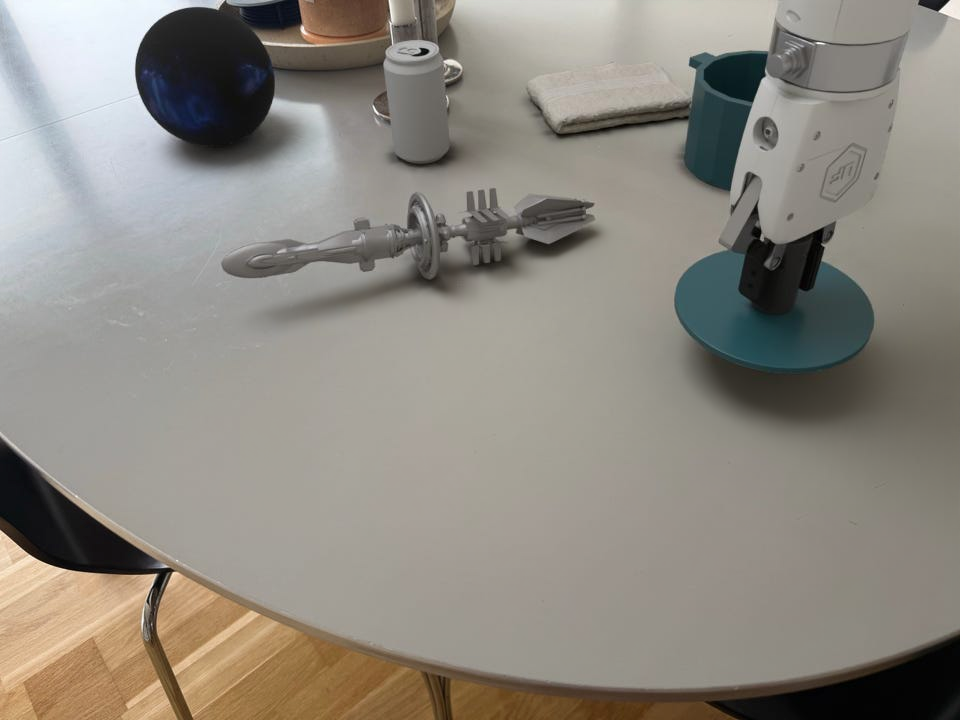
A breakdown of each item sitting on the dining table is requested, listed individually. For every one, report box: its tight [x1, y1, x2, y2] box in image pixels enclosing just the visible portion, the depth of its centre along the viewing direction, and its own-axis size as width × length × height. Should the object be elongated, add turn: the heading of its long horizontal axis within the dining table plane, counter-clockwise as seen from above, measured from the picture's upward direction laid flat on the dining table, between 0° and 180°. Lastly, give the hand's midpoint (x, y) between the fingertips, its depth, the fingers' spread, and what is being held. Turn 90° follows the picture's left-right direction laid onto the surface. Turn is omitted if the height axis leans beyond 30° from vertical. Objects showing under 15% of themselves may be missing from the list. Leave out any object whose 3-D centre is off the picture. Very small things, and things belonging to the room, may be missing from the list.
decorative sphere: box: [134, 6, 276, 148], centre depth 93 cm, size 15×15×15 cm
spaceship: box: [220, 187, 596, 280], centre depth 74 cm, size 8×35×8 cm
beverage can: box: [382, 39, 451, 165], centre depth 89 cm, size 6×6×12 cm
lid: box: [673, 232, 876, 375], centre depth 61 cm, size 15×15×8 cm
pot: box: [683, 49, 769, 191], centre depth 86 cm, size 14×19×10 cm
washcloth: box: [525, 61, 693, 135], centre depth 99 cm, size 12×18×3 cm, turn 104°
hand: (775, 289), depth 62 cm, fingers closed on lid, 3 cm apart
